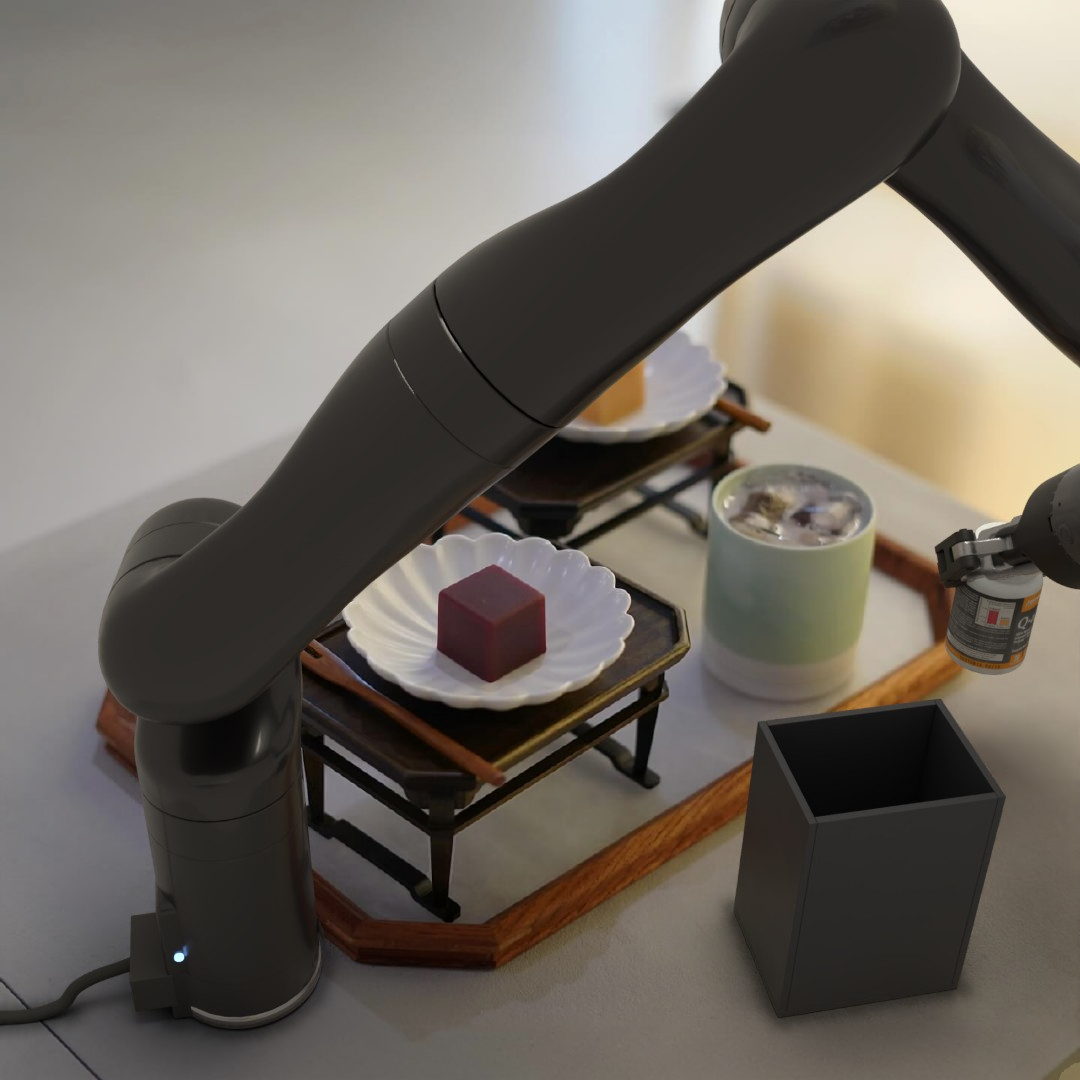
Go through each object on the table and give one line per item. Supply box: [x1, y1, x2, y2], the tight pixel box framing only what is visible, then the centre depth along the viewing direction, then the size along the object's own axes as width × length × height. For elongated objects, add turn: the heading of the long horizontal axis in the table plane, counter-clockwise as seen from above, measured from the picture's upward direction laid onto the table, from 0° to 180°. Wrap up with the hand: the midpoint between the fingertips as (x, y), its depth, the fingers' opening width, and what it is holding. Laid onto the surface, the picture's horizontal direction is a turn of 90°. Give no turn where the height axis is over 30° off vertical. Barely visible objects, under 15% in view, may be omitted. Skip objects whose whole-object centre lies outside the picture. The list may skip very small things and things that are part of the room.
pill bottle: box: [944, 521, 1044, 676], centre depth 107 cm, size 6×6×10 cm
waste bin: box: [733, 698, 1007, 1018], centre depth 94 cm, size 12×9×16 cm
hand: (988, 569), depth 108 cm, fingers closed on pill bottle, 5 cm apart
